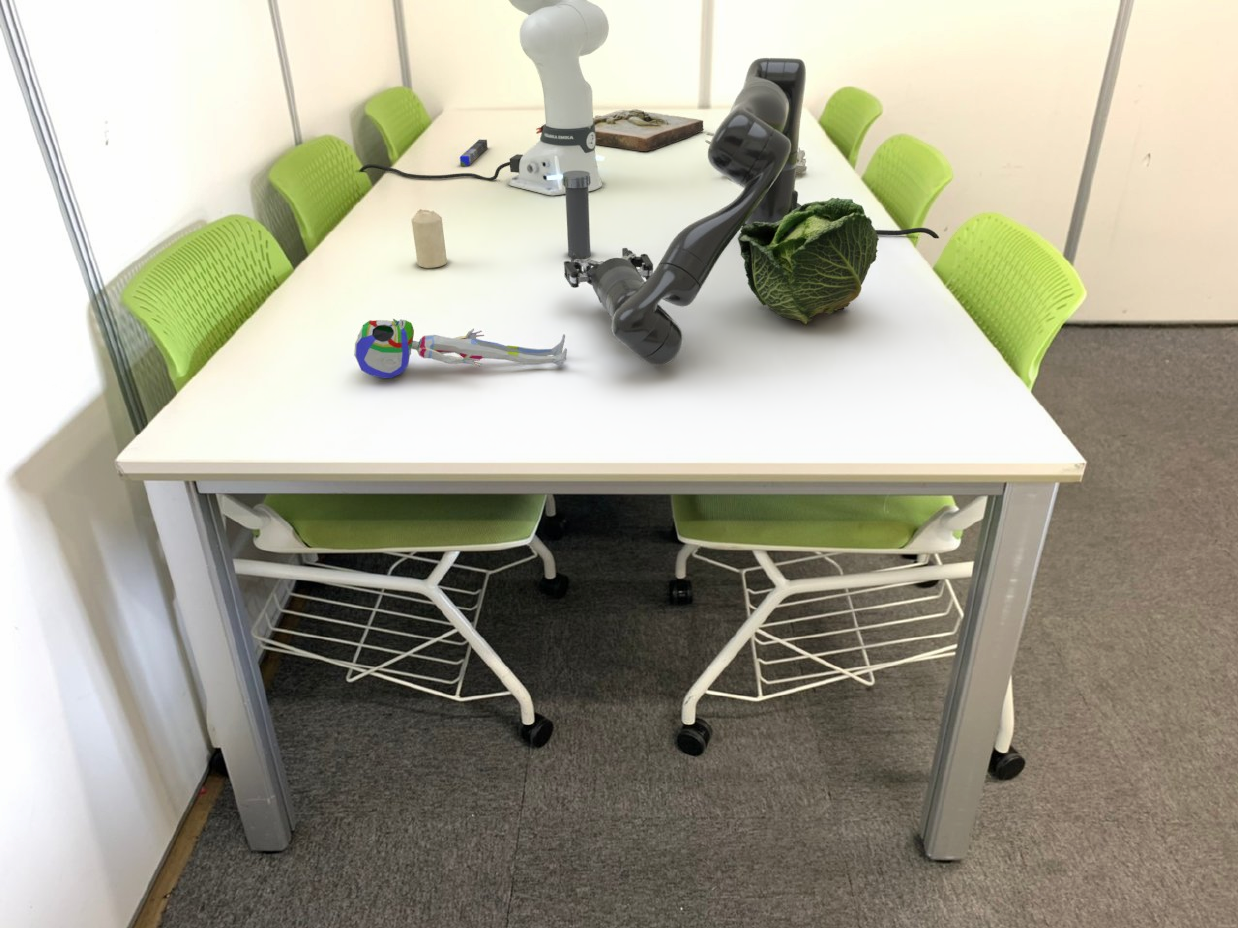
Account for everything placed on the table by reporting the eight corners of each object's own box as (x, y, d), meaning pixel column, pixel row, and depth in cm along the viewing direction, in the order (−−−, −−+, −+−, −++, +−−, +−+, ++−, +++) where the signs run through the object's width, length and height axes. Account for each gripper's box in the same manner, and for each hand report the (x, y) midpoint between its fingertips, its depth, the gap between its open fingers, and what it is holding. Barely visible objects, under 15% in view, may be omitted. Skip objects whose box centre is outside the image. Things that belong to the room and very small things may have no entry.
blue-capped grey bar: (486, 139, 247) (467, 157, 231) (487, 147, 249) (468, 166, 232) (479, 139, 248) (459, 157, 231) (479, 147, 249) (460, 166, 232)
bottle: (590, 251, 175) (587, 173, 167) (590, 258, 172) (588, 179, 164) (568, 252, 175) (564, 173, 167) (568, 259, 171) (564, 180, 163)
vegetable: (766, 338, 156) (713, 238, 148) (856, 276, 157) (807, 174, 149) (821, 359, 137) (763, 246, 129) (922, 289, 138) (870, 173, 131)
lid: (590, 180, 168) (589, 170, 167) (590, 188, 164) (590, 177, 163) (562, 181, 168) (562, 170, 167) (562, 189, 164) (562, 178, 163)
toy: (569, 347, 126) (349, 329, 122) (563, 400, 131) (350, 385, 126) (565, 318, 135) (359, 301, 130) (559, 369, 139) (360, 354, 134)
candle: (452, 259, 172) (446, 207, 166) (438, 269, 167) (431, 216, 162) (426, 257, 173) (419, 205, 168) (412, 266, 169) (404, 213, 163)
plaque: (647, 125, 237) (559, 112, 252) (647, 153, 241) (560, 139, 256) (706, 107, 258) (622, 97, 273) (705, 133, 262) (622, 121, 277)
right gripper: (665, 262, 140) (640, 230, 153) (575, 271, 137) (557, 238, 151) (664, 307, 144) (640, 272, 157) (577, 316, 141) (560, 280, 155)
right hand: (599, 255), depth 154 cm, fingers open, 8 cm apart
